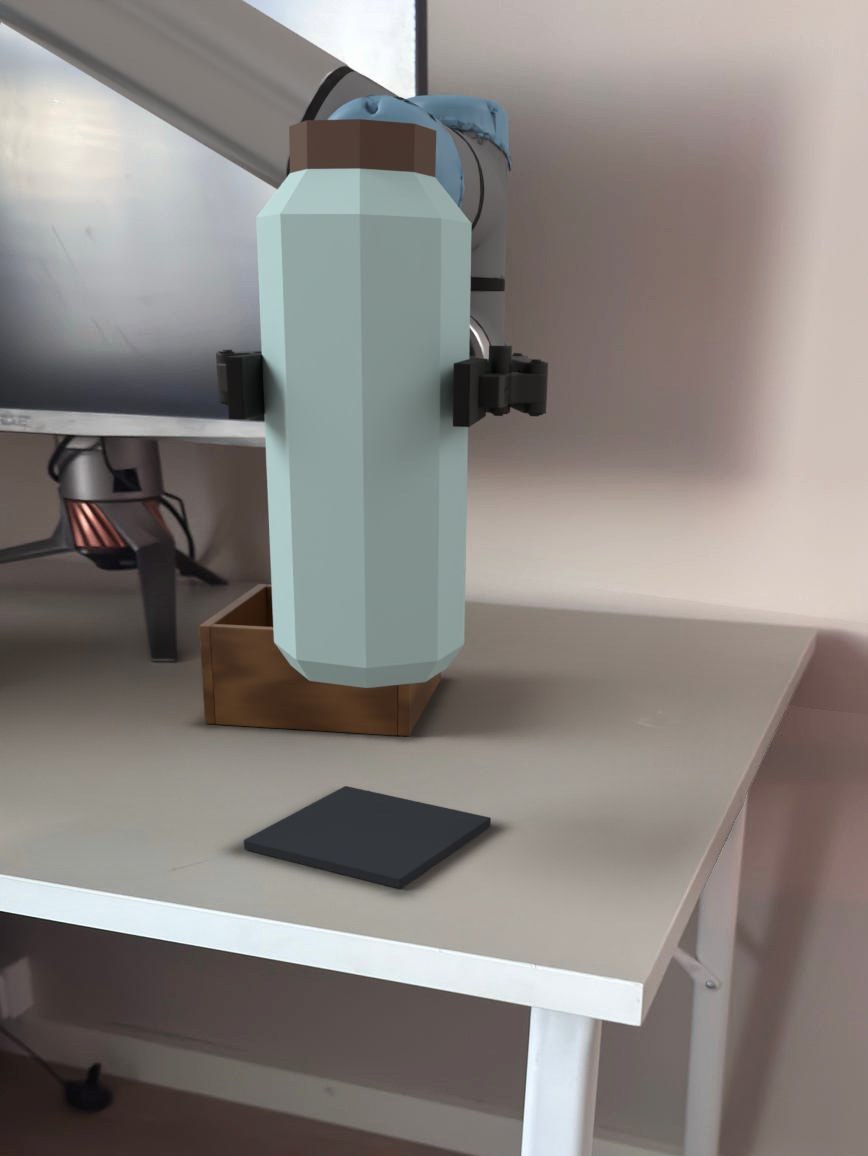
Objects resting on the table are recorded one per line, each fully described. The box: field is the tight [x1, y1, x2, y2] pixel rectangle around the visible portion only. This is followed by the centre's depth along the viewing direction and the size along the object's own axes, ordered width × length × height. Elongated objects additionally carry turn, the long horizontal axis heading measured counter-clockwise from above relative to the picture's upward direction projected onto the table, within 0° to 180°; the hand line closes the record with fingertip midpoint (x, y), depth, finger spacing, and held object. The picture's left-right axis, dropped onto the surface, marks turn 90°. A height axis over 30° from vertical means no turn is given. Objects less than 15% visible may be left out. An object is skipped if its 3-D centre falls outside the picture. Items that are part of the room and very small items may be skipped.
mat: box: [243, 785, 492, 890], centre depth 72 cm, size 10×10×1 cm
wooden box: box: [198, 583, 442, 737], centre depth 95 cm, size 15×15×7 cm
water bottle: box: [255, 119, 472, 688], centre depth 63 cm, size 10×10×25 cm
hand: (347, 391), depth 59 cm, fingers closed on water bottle, 10 cm apart
